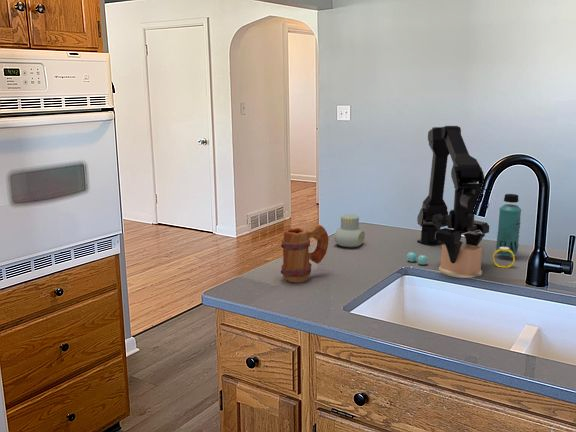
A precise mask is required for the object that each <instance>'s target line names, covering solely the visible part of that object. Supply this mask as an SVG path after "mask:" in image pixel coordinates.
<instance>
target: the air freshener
mask: <svg viewBox="0 0 576 432" xmlns="http://www.w3.org/2000/svg"><path fill="white" fill-rule="evenodd" d="M359 222H360V217H359V216H358V215H357V214H356V215H355V214H343V215H341V216H340V227H339V228H337V229H336V230H335V232H334V237H333V239H334V240H333V241H334V242H335V243H336V244H337V245H339V246H340V247H344V248H357V247H360V246H361V245H362V244H363V243H364V241H365V237H366V234H365V231H364V230H363V229H361V228H359V227H360V226H359V225H360V224H359Z"/></svg>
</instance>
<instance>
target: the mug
mask: <svg viewBox="0 0 576 432" xmlns="http://www.w3.org/2000/svg"><path fill="white" fill-rule="evenodd" d="M311 238H313V239H315V240H316V241H317V242H316V247H315V249H314V250H313V251H312V252H309V248H310V246H311V240H310V239H311ZM280 247H281V248H282V259H283V260H282V261H283V262H282V265H281V270H280V274H281V275H283V279H284V280H286V281H288V282H290V283H297V284H298V283H303V282H305V281H308V279H309V278H310V277H311V272H312V263H311V262H310V261H312V262H313V263H315V264H321V262H322V260H323V259H324V258H325V256H326V254H327V251H328V248H329V234H328V232H327V230H326V228H325V227H324V226H322V225H321V224H318V223H315V224H313V225H312V226H311V227H310V228H309V229H305V228H302V229H301V228H300V227H296V228H288V229H285V230H284V231H283V239H282V240H281V244H280Z"/></svg>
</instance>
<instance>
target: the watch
mask: <svg viewBox="0 0 576 432" xmlns="http://www.w3.org/2000/svg"><path fill="white" fill-rule="evenodd" d="M499 251H508V252H510V253H511V254H512V256H511V257H512V261H511V262H510V264H508V265H503V264H498V263H497V262H496V259H495V258H496V257H495V256H496V255H497V252H499ZM515 256H516V255H515ZM515 256H514V254H513V252H512V251H511V250H509V248H508V247H499V249H498V250H496V249H495V251H494V252H493V254H492V260H493V264H494V265H495V267H497V268H503V269H505V268H506V269H509V268H511V267H513V265H514V263H515V258H516V257H515Z"/></svg>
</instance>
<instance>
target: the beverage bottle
mask: <svg viewBox="0 0 576 432" xmlns="http://www.w3.org/2000/svg"><path fill="white" fill-rule="evenodd" d="M503 201H504V202H506V203H507V204H503V205H501V206H500V207H499V215H498V227H497V228H498V229H497V235H496V244H495V251H496V250H498V249H499V247H508V248H509V250H511V251H512V252H513V254H514V256H517V255H518V252H519V245H520V243H519V241H520V228H521V214H522V213H521V212H522V208H520V207H519V205H517V204H514V203H519V195H518V194H513V193H506V194H504V199H503ZM508 203H509V204H508ZM510 203H513V204H510ZM497 254H498V255H500V256H505V257H513V256H512V254H511V253H510V252H508V251H499V252H497V253H496V255H497Z"/></svg>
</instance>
